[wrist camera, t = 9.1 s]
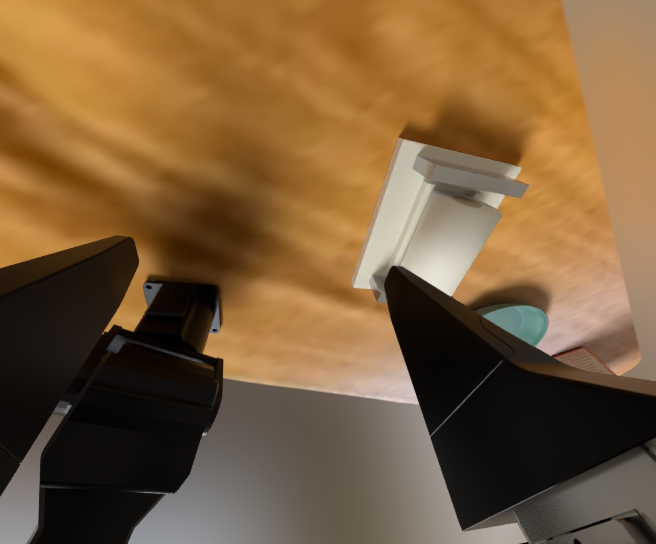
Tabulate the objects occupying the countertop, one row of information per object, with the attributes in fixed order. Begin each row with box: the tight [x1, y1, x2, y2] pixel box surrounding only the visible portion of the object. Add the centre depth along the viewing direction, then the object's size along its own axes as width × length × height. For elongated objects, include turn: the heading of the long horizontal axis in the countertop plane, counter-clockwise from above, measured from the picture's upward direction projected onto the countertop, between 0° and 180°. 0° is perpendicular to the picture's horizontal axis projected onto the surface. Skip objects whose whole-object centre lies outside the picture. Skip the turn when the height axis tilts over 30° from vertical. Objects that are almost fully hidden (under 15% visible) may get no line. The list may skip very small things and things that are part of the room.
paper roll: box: [400, 190, 502, 296], centre depth 22 cm, size 8×5×5 cm, turn 168°
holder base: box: [351, 138, 521, 289], centre depth 24 cm, size 14×11×2 cm
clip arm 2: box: [412, 155, 529, 198], centre depth 19 cm, size 1×8×3 cm, turn 78°
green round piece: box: [475, 303, 548, 347], centre depth 35 cm, size 15×15×3 cm
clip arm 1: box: [369, 275, 453, 303], centre depth 26 cm, size 1×8×3 cm, turn 78°
